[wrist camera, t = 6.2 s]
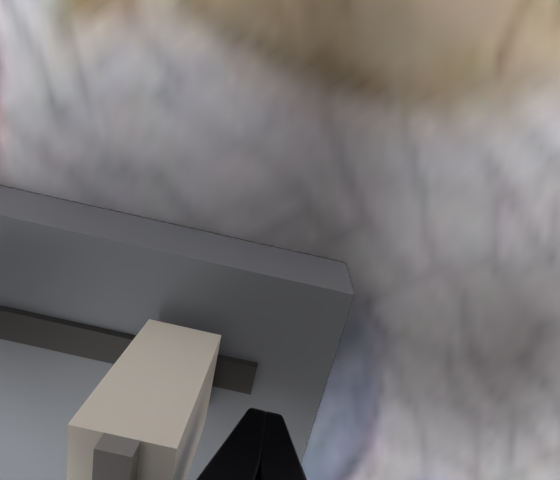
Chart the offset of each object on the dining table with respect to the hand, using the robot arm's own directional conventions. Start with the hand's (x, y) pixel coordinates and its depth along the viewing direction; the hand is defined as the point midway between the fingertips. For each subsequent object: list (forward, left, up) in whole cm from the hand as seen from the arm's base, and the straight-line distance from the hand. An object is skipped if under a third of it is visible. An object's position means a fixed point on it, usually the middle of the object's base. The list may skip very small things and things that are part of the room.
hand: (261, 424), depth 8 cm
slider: (+2, 0, -1) cm, 3 cm away
